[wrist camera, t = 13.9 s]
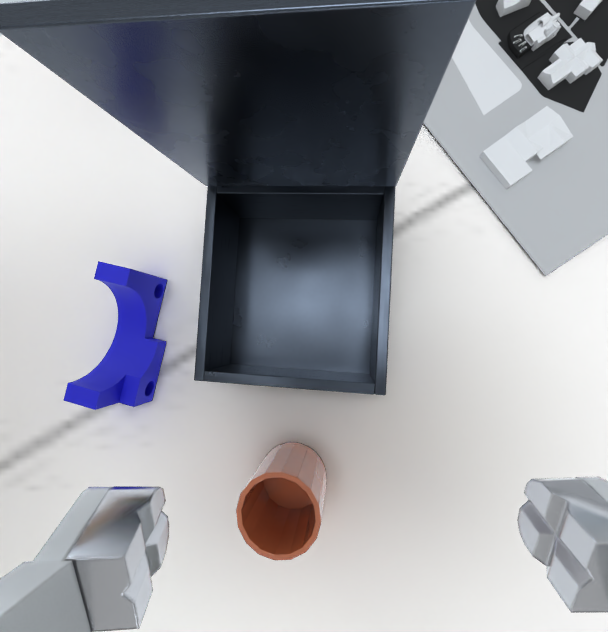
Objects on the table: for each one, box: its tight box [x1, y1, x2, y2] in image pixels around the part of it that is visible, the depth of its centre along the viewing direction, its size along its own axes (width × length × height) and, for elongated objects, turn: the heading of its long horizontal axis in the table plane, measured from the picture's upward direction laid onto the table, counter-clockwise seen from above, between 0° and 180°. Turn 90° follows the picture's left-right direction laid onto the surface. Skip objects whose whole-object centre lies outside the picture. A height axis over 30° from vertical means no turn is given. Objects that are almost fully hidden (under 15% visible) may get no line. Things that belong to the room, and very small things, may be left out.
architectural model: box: [424, 0, 608, 276], centre depth 30 cm, size 35×29×2 cm
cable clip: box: [64, 261, 167, 410], centre depth 32 cm, size 12×4×6 cm, turn 166°
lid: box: [0, 0, 476, 186], centre depth 18 cm, size 16×15×5 cm
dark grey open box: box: [194, 186, 395, 395], centre depth 30 cm, size 16×15×7 cm
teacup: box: [236, 442, 327, 560], centre depth 29 cm, size 6×6×7 cm
